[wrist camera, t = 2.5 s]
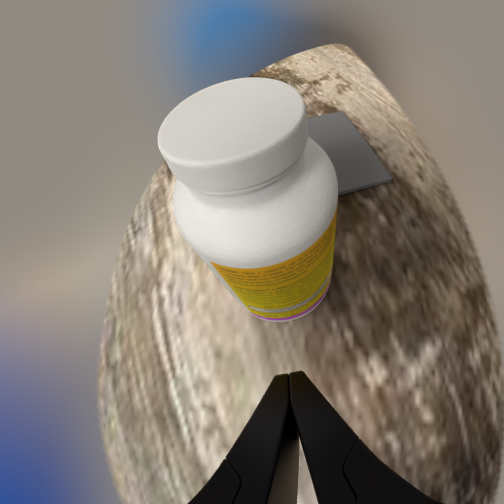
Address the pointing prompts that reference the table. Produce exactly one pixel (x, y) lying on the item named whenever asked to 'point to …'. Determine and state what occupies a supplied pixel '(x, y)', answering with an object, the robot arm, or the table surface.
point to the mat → (347, 152)
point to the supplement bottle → (254, 194)
